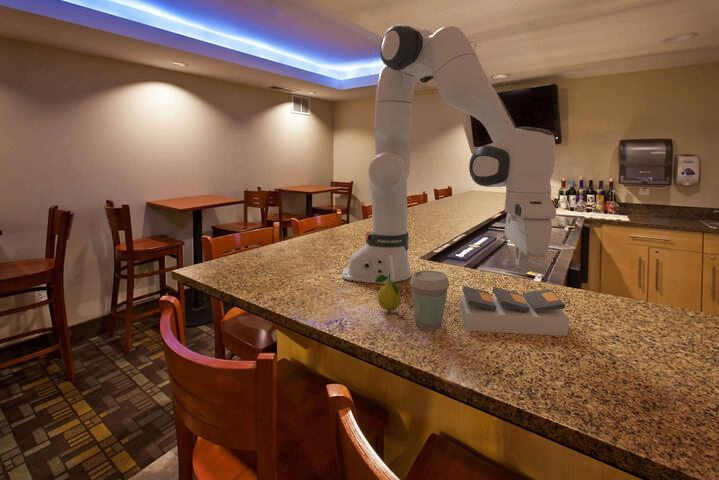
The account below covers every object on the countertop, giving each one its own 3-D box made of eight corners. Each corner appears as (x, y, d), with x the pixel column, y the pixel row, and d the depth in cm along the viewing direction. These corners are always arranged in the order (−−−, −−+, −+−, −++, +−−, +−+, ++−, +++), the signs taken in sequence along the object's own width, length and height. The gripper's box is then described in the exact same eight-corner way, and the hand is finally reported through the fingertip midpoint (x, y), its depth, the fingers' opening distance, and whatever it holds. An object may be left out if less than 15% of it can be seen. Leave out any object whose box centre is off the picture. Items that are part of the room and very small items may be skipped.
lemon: (375, 307, 94) (374, 269, 92) (397, 306, 95) (397, 268, 92) (378, 318, 88) (378, 278, 85) (402, 316, 88) (403, 277, 86)
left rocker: (467, 304, 81) (469, 299, 81) (462, 289, 90) (463, 285, 89) (495, 310, 80) (496, 306, 80) (487, 295, 89) (488, 291, 89)
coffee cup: (419, 314, 89) (420, 267, 87) (453, 323, 84) (455, 273, 82) (402, 328, 82) (403, 277, 80) (438, 338, 78) (440, 284, 75)
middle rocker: (501, 305, 80) (502, 300, 80) (492, 290, 89) (493, 286, 88) (528, 312, 79) (530, 307, 79) (517, 296, 88) (518, 292, 88)
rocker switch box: (465, 330, 81) (466, 313, 80) (459, 310, 91) (460, 295, 91) (567, 335, 78) (569, 318, 77) (548, 314, 88) (550, 298, 88)
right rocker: (535, 312, 79) (534, 307, 79) (523, 296, 88) (522, 292, 88) (565, 308, 78) (564, 303, 78) (549, 292, 87) (549, 288, 87)
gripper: (500, 199, 90) (496, 253, 93) (524, 211, 70) (518, 279, 73) (528, 199, 89) (522, 254, 92) (560, 211, 69) (551, 281, 72)
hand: (520, 266), depth 82 cm, fingers closed
